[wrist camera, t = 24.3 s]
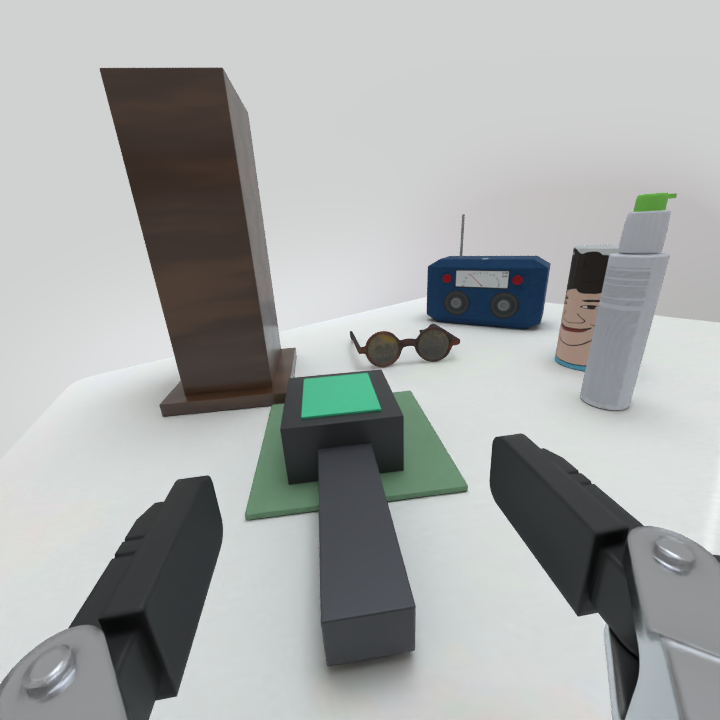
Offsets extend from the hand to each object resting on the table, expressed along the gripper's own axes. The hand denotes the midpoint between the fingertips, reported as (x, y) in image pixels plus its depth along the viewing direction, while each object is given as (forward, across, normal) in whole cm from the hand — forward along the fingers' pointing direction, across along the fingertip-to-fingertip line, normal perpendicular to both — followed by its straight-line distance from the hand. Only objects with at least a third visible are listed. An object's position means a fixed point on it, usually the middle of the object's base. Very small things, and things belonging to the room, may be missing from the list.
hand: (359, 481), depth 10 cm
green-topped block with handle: (+12, 0, +11) cm, 16 cm away
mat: (+20, -1, +11) cm, 22 cm away
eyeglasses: (+44, -12, +11) cm, 46 cm away
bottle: (+21, -29, +12) cm, 38 cm away
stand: (+36, +12, +10) cm, 40 cm away
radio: (+55, -32, +10) cm, 64 cm away
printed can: (+31, -35, +11) cm, 48 cm away
